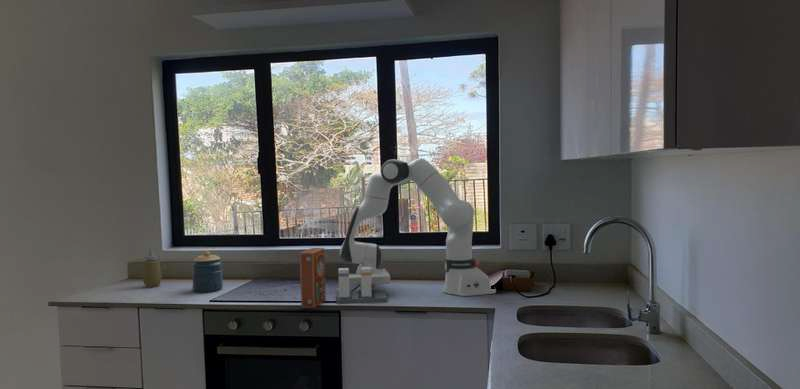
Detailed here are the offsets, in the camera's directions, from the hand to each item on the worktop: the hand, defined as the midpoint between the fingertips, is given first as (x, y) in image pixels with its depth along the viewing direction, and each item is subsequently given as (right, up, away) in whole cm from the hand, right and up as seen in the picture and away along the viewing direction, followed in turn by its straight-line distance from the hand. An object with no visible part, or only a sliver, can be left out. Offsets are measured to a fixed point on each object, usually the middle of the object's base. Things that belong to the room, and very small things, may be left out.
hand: (366, 283), depth 198 cm
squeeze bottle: (-104, -8, +32) cm, 109 cm away
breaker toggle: (0, -4, -2) cm, 5 cm away
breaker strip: (-2, -6, +1) cm, 7 cm away
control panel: (-20, -7, -6) cm, 23 cm away
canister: (-74, -7, +23) cm, 78 cm away
